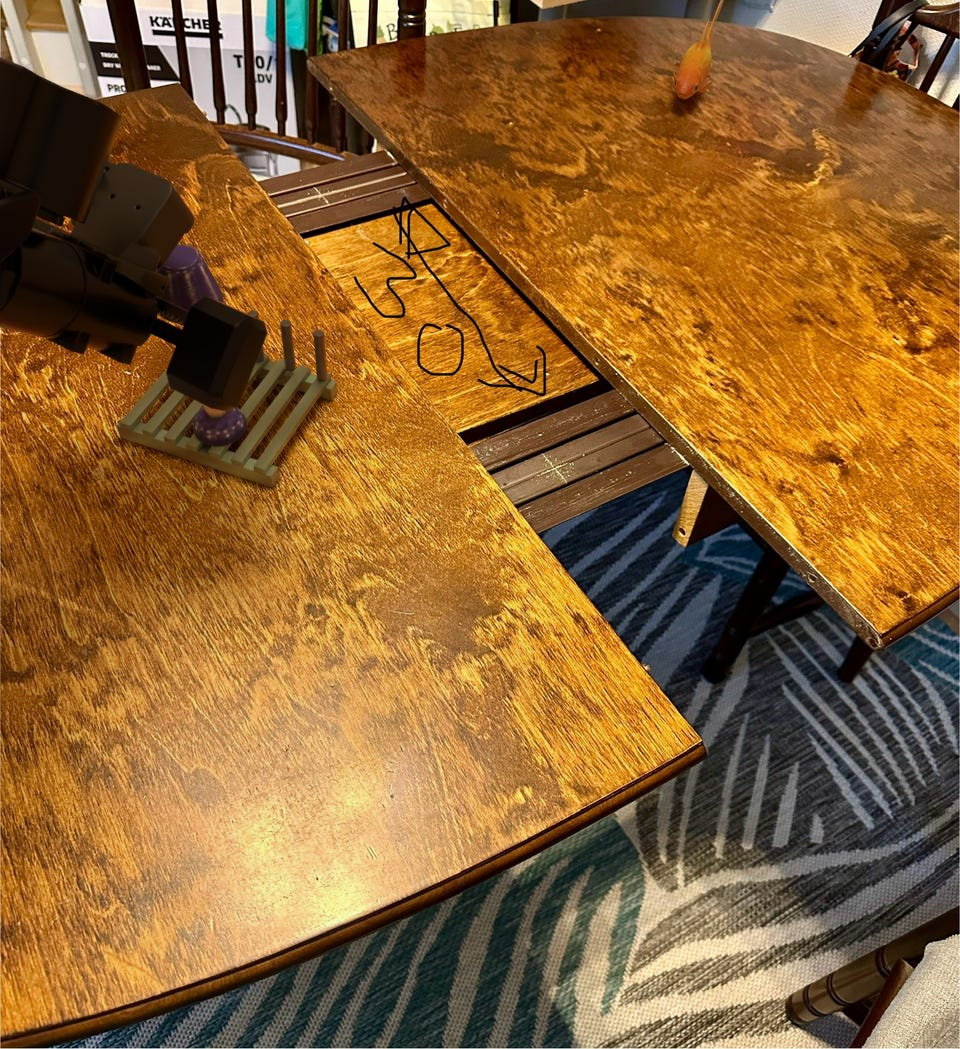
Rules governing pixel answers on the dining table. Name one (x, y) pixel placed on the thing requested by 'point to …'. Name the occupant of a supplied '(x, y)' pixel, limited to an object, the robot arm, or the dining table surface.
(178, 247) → the toy lamp
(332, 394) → the rack
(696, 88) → the fish
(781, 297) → the dining table surface
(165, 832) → the dining table surface
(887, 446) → the dining table surface
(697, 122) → the dining table surface
